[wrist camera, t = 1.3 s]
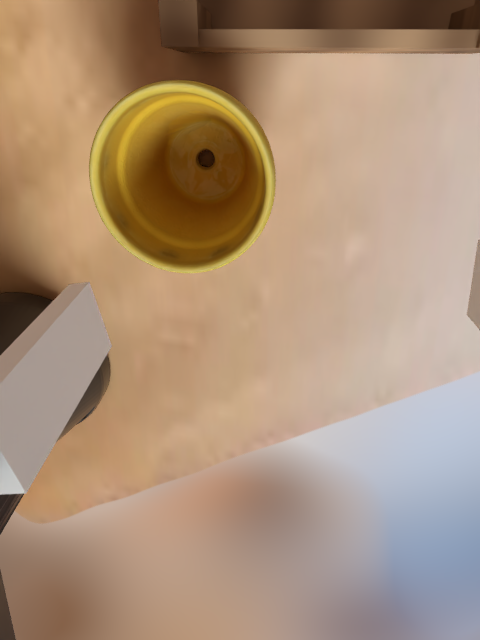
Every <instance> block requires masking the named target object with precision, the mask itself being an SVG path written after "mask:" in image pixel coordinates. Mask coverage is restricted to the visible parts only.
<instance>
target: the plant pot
mask: <svg viewBox="0 0 480 640" xmlns="http://www.w3.org/2000/svg"><path fill="white" fill-rule="evenodd" d="M203 150H209V151H211V152H212V153H213V155H214V158H215V161H214V164H213V165H212V166H211V167H203V166H201V165H200V164H199V162H198V156H199V154H200V152H202V151H203ZM89 177H90V186H91V191H92V195H93V199H94V202H95V205H96V208H97V210H98V212H99V215H100V217H101V219H102V221H103V222H104V224H105V225H106V227H107V229H108V230H109V231H110V233H111V234H112V235H113V237H114V238H115V239H116V240H117V241H118V242H119V243H120V244H121V245H122V246H123V247H124V248H125V249H126V250H128V251H129V252H130V253H131V254H133V255H134V256H136V257H137V258H139V259H140V260H142V261H144V262H146V263H148V264H150V265H152V266H154V267H157V268H160V269H163V270H167V271H171V272H177V273H200V272H206V271H210V270H214V269H217V268H219V267H222V266H224V265H226V264H228V263H230V262H231V261H233V260H235V259H236V258H238V257H239V256H241V255H242V254H243V253H244V252H245V251H246V250H247V249H248V248H249V247H250V246H251V245H252V244H253V243H254V242H255V241H256V239H257V238H258V237H259V235H260V234H261V232H262V231H263V229H264V227H265V225H266V223H267V221H268V218H269V216H270V213H271V209H272V206H273V202H274V196H275V182H276V179H275V165H274V159H273V155H272V151H271V148H270V144H269V142H268V139H267V137H266V135H265V133H264V131H263V129H262V127H261V126H260V124H259V123H258V121H257V120H256V118H255V117H254V116H253V115H252V113H251V112H250V111H249V110H248V109H247V108H246V107H245V106H244V105H243V104H242V103H241V102H239V101H238V100H237V99H235V98H234V97H233V96H231V95H230V94H228V93H226V92H224V91H222V90H220V89H218V88H216V87H214V86H211V85H208V84H204V83H201V82H195V81H188V80H168V81H160V82H155V83H151V84H148V85H145V86H143V87H141V88H138V89H136V90H134V91H133V92H131V93H129V94H128V95H126V96H125V97H124V98H122V99H121V100H120V101H119V102H118V103H117V104H116V105H115V106H114V107H113V108H112V109H111V110H110V111H109V112H108V114H107V115H106V116H105V118H104V119H103V121H102V123H101V124H100V126H99V128H98V130H97V132H96V135H95V138H94V141H93V144H92V148H91V153H90V162H89Z"/></svg>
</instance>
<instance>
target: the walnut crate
mask: <svg viewBox="0 0 480 640" xmlns="http://www.w3.org/2000/svg"><path fill="white" fill-rule="evenodd" d="M158 4H159V17H160V31H161V44H162V47H165V48H169V49H173V50H177V51H181V52H225V53H443V54H472V53H480V0H158Z"/></svg>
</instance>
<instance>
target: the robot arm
mask: <svg viewBox="0 0 480 640" xmlns="http://www.w3.org/2000/svg"><path fill="white" fill-rule="evenodd" d="M467 315H468V317H469V318H470V319H471V320H472V321H473V322H474V324H475V325H476V326H477V327H478V328H479V330H480V240H478V245H477V252H476V258H475V265H474V272H473V278H472V285H471V291H470V298H469V305H468V311H467ZM111 347H112V345H111V342H110V339H109V337H108V334H107V331H106V328H105V325H104V322H103V320H102V317H101V314H100V311H99V308H98V305H97V302H96V300H95V297H94V294H93V291H92V288H91V285H90V282H85V283H76V284H69V285H68V286H67V287H66V288H65V289H64V290H63V291H62V292H61V293H60V294H59V295H58V296H57V297H56V298H55V299H54V300H53V301H51V300H48V299H46V298H43V297H40V296H36V295H31V294H26V293H1V294H0V534H1V533H2V531H3V529H4V527H5V526H6V524H7V522H8V520H9V519H10V517H11V515H12V514H13V512H14V510H15V509H16V507H17V505H18V503H19V502H20V500H21V498H22V497H23V495H24V493H27V491H28V489H29V488H30V486H31V484H32V482H33V481H34V479H35V477H36V476H37V474H38V472H39V470H40V469H41V467H42V465H43V464H44V462H45V460H46V458H47V457H48V455H49V453H50V452H51V450H52V448H53V446H54V445H55V443H56V442H57V441H58V440H59V439H60V438H62V437H63V436H64V435H65V434H66V433H67V432H68V431H70V430H71V429H72V428H73V427H74V426H75V425H77V424H79V423H80V422H82V421H83V420H84V419H86V418H87V417H88V416H89V415H91V413H92V412H93V411H94V410H95V409H96V407H97V406H98V404H99V403H100V401H101V399H102V397H103V395H104V394H105V392H106V390H107V387H108V385H109V381H110V364H109V360H108V356H107V354H108V352H109V350H110V348H111ZM0 640H16V639H15V635H14V630H13V625H12V621H11V616H10V612H9V607H8V602H7V598H6V593H5V589H4V584H3V580H2V575H1V571H0Z"/></svg>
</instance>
